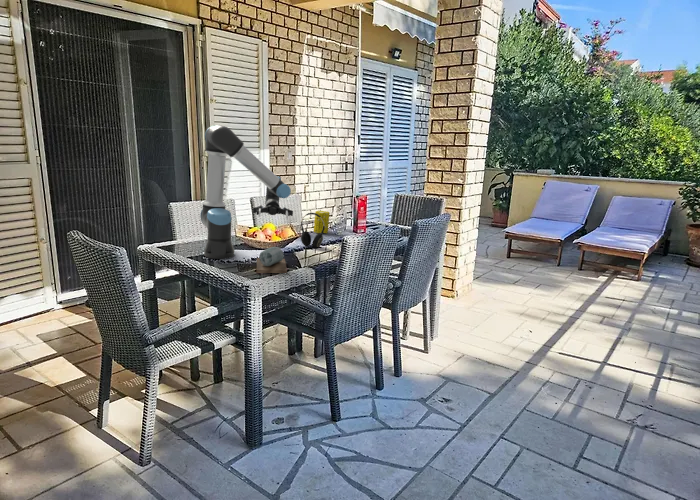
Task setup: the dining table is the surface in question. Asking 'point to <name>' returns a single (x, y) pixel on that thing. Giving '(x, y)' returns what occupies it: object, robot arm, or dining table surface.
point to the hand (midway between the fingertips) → (273, 214)
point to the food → (319, 223)
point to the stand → (272, 267)
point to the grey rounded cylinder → (271, 256)
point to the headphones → (307, 238)
